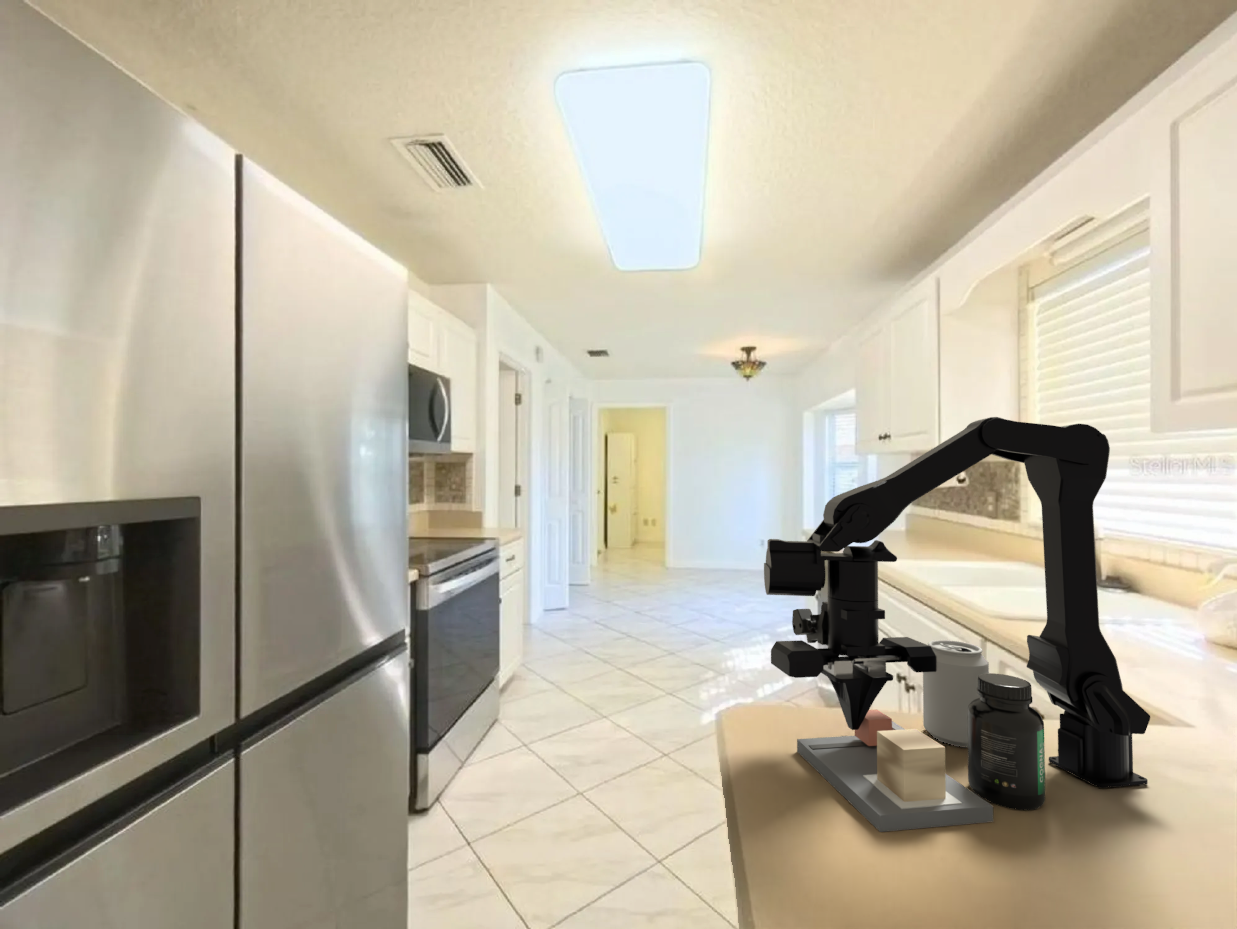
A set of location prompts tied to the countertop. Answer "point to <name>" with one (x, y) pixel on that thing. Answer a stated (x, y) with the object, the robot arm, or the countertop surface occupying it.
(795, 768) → the countertop surface
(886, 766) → the block
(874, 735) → the salmon red cube
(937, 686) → the can
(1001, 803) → the supplement bottle
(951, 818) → the base
